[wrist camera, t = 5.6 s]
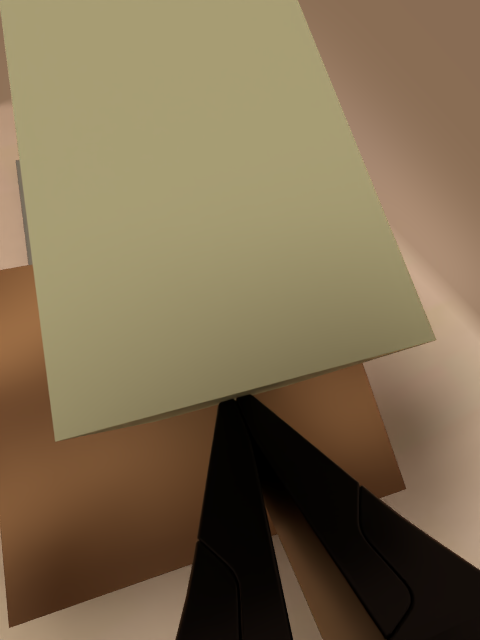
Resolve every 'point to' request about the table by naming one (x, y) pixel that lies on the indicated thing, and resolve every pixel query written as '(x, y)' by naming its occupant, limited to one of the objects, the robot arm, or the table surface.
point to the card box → (193, 208)
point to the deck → (134, 472)
